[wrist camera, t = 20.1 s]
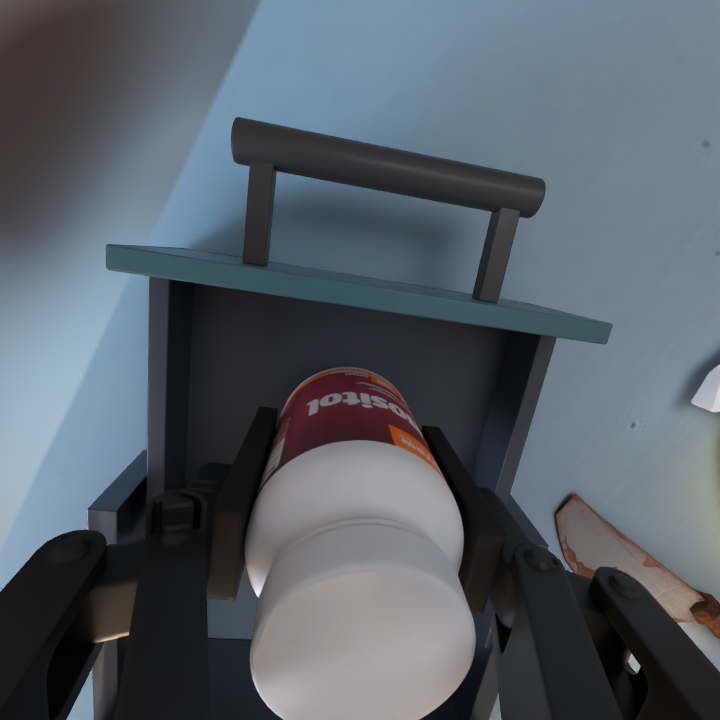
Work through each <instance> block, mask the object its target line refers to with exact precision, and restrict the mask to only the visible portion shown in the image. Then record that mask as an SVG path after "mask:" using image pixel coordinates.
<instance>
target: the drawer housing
mask: <svg viewBox="0 0 720 720" xmlns="http://www.w3.org/2000/svg"><path fill="white" fill-rule="evenodd" d="M146 497H147V450H143V451H142V452H141V453H140V454H139V455H138V456H137V457H136V459H135V460H134V461H133V462H132V463H131V464H130V465H129V466H128V467H127V468H126V469H125V470H124V471H123V472H122V473H121V474H120V475H119V476H118V477H117V478H116V479H115V480H114V482H113V483H112V484H111V485H110V486H109V487H108V488H107V489H106V490H105V491H104V492H103V493H102V494H101V495H100V496H99V497H98V498H97V499H96V500H95V501H94V502H93V504H92V505H91V506H90V507H89V508H88V509H87V525H88V530H93V531H98V532H100V533H101V534H103V535H104V536H105V538H106V541H107V545H109V544H116V543H122V542H129V541H133V540H137V539H140V538H143V537H146ZM506 507H507V510H509V512H510V513H511V514H512V517H513V518H514V519H515V520H516V522H517V523H518V524H519V526H520V527H521V529H522V530H523V531H524V533H525V534H526V536H527V537H528V539H529V540H530V541H531V543H532V544H535V545H538V546H540V547H543V548H545V549H546V550H548V547H549V546H548V544H547V543H546V542H545V540H544V539H543V538H542V536H541V535H540V534H539V532H538V531H537V530H536V528H535V527H534V526H533V524H532V523H531V522H530V520H529V519H528V518H527V516H526V515H525V514H524V512H523V511H522V510H521V508H520V507H519V506H518V504H517V503H516V502H515V500H514V499H513V498H512V496H511V495H509V498H508V501H507V504H506ZM494 611H495V610H494V608H493V606H492V604H491V602H490V599H489V597H488V600H487V603H486V607H485V610H484V613H483V614H474V613H471V614H472V617H473V621H474V626H475V633H476V646H475V653H474V657H473V660H472V664H471V667H470V669H469V671H468V673H467V675H466V676H465V678H464V680H463V681H462V682H461V684H460V685H459V687H458V688H457V689H456V690H455V691H454V693H453V694H452V695H451V696H450V697H449V698H448V699H447V700H446V701H445V702H443V703H442V704H441V705H440V706H439V707H438V708H436V709H435V710H433V711H432V712H430V713H429V714H427V715H426V716H424V717H423V718H421V719H419V720H489V718H490V715H491V712H492V709H493V706H494V703H495V700H496V697H497V695H498V683H497V674H496V666H495V657H494V648H493V639H492V640H491V642H490V645H489V648H485V647H484V646H485V639H486V636H487V633H488V630H489V627H490V624H491V620H492V617H493V614H494ZM128 636H129V635H128ZM128 636H124V637H120V638H116V639H112V640H108V641H105V643H104V645H103V647H102V649H101V651H100V653H99V655H98V657H97V659H96V661H95V663H94V665H93V667H92V673H93V703H94V720H114V717H115V712H116V706H117V700H118V694H119V688H120V683H121V677H122V671H123V665H124V660H125V654H126V648H127V642H128ZM250 647H251V640H229V639H208V666H209V708H210V720H283V719H282V718H281V717H279V716H278V715H277V714H275V713H274V712H273V711H272V710H271V709H270V708H269V707H268V706H267V705H266V703H265V702H264V701H263V699H262V698H261V696H260V695H259V693H258V691H257V689H256V687H255V684H254V682H253V679H252V674H251V669H250Z"/></svg>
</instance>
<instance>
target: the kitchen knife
mask: <svg viewBox="0 0 720 720" xmlns="http://www.w3.org/2000/svg"><path fill="white" fill-rule="evenodd" d="M556 520H557V527H558V533H559V539H560V543H561V546H562V550H563V553H564V557H565V559H566V561H567V562H568V564H569V565H570V567H571V568H572V570H573V571H574V573H575V574H578V575H582V576H585V577H588V578H591V579H592V578H593V575H594V573H595V570H596V569H597V568H599V567H611V568H615V569H618V570H621V571H622V572H625V573H627V574H629V575H630V576H631V577H633V578H634V579H636V580H637V581H639V582H640V583H641V584H642V585H643V586H644V587H645V588H646V589H647V590H648V591H649V592H650V593H651V594H652V595H653V597H654V598H655V599H656V600H657V601H658V602H659V603H660V605H661V606H662V607H663V608H664V609H665V610H666V611H667V613H668V614H669V615H670V616H671V617H672V618H673V619H674V620H675V622H676V623H679V622H692V621H695V620H696V621H697V622H698V623H700V624H703V625H706V626H707V628H708V629H709V630H710V631H711V632H712V633H713V634H714V635H715V636H716V637H717V638H719V639H720V604H719V602H718V601H717V600H716V599H715V598H714V597H713V596H712V595H711V594H707V593H702V592H701V593H697V592H696V591H694V590H693V589H692V588H691V587H689V586H688V585H687V584H686V583H684V582H683V581H682V580H680V579H679V578H678V577H677V576H675V575H674V574H673V573H672V572H670V571H669V570H668V569H666V568H665V567H664V566H663V565H661V564H660V563H659V562H658V561H656V560H655V559H654V558H652V557H651V556H650V555H649V554H647V553H646V552H645V551H644V550H642V549H641V548H640V547H638V546H637V545H636V544H635V543H633V542H632V541H631V540H630V539H628V538H627V537H626V536H624V535H623V534H622V533H621V532H619V531H618V530H617V529H616V528H614V527H613V526H612V525H610V524H609V523H608V522H607V521H605V520H604V519H603V518H602V517H600V516H599V515H598V514H597V513H596V512H595V511H594V510H593V509H592V508H591V507H590V506H589V505H587V504H586V503H585V502H584V501H583V500H582V499H581V498H580V497H579V496H578V495H577V494H575V495H574V496H573V497H572V498H571V499H570V500H569V501H568V502H567V503H566V504H565V505H564V507H563V508H562V509H561V510H560V511H559V512H558V513H557V514H556Z"/></svg>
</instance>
